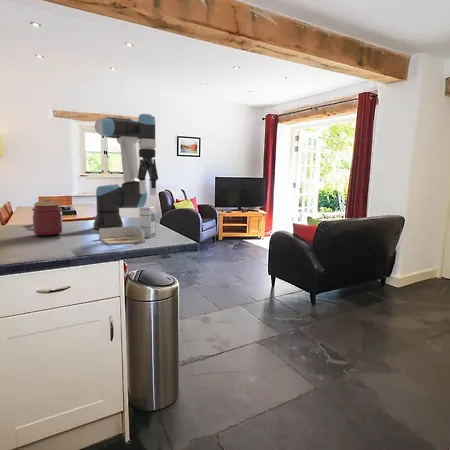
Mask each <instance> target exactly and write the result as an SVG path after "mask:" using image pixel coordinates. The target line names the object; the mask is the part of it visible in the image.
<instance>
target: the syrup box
mask: <svg viewBox="0 0 450 450" xmlns="http://www.w3.org/2000/svg"><path fill="white" fill-rule="evenodd" d="M138 210H139V229H141V230H144V231H145V238H146V239H148V238H150V239H151V238H153V237H155V236H156V235H157V234H156V206H154V205H153V206H151V205H148V206H146V205H145V206H144V207H140V208H138Z"/></svg>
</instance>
